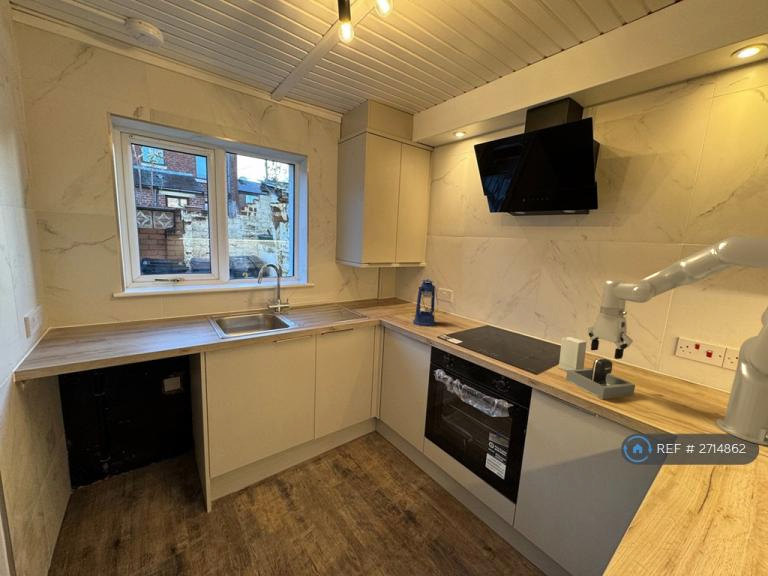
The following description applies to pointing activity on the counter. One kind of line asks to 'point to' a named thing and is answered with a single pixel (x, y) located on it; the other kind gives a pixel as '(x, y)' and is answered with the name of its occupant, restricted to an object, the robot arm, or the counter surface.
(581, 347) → the skincare box
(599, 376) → the dark piece
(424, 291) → the lantern
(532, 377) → the counter surface
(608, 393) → the bin
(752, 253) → the robot arm
